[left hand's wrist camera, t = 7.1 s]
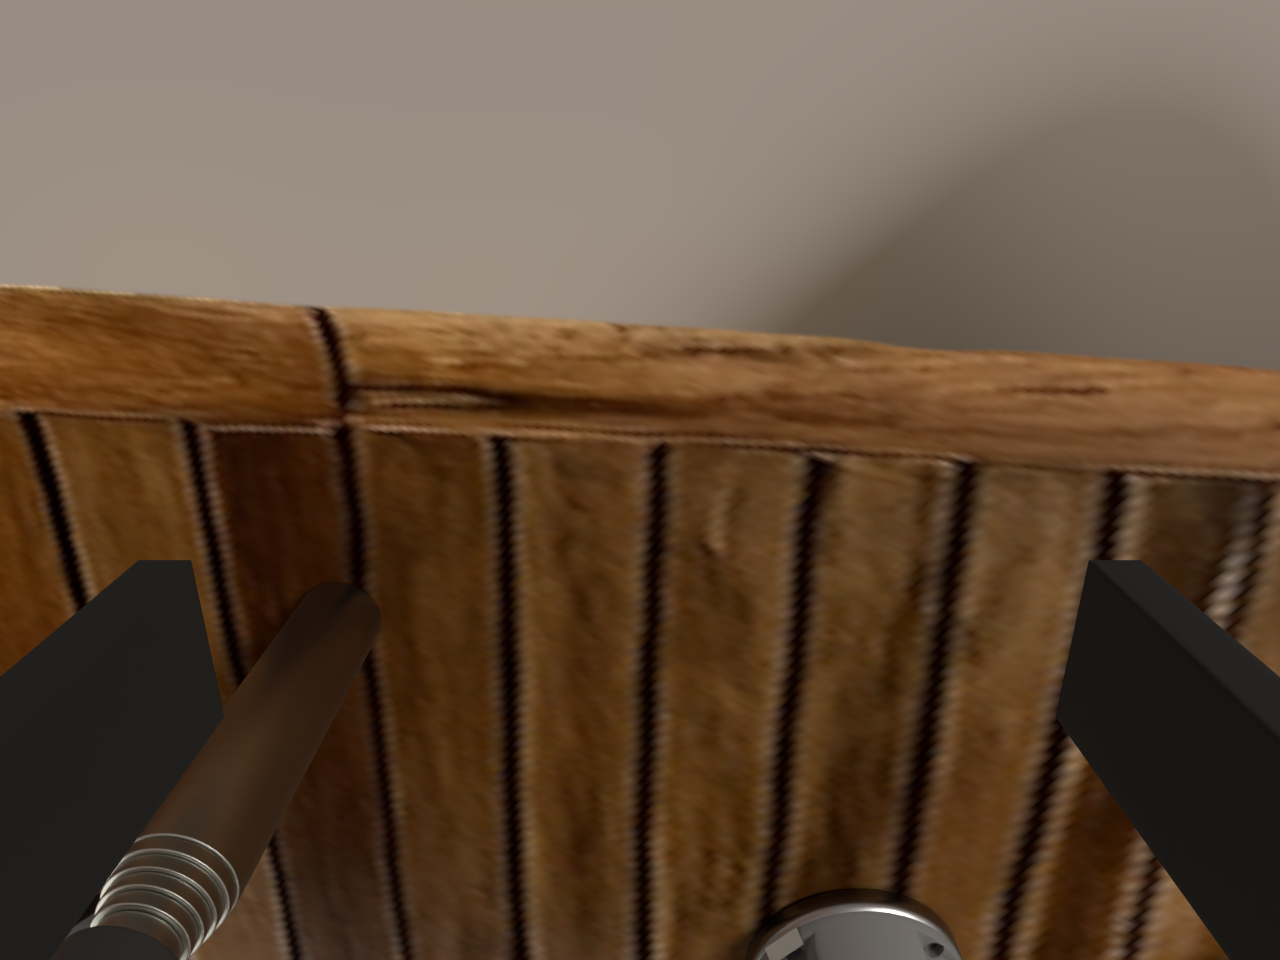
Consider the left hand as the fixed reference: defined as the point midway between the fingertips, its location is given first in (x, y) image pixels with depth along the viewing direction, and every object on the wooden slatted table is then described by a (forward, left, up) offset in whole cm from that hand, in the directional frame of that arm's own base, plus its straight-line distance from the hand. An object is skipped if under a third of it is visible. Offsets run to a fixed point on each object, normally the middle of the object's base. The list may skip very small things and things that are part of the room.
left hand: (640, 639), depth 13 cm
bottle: (-19, +18, -34) cm, 43 cm away
